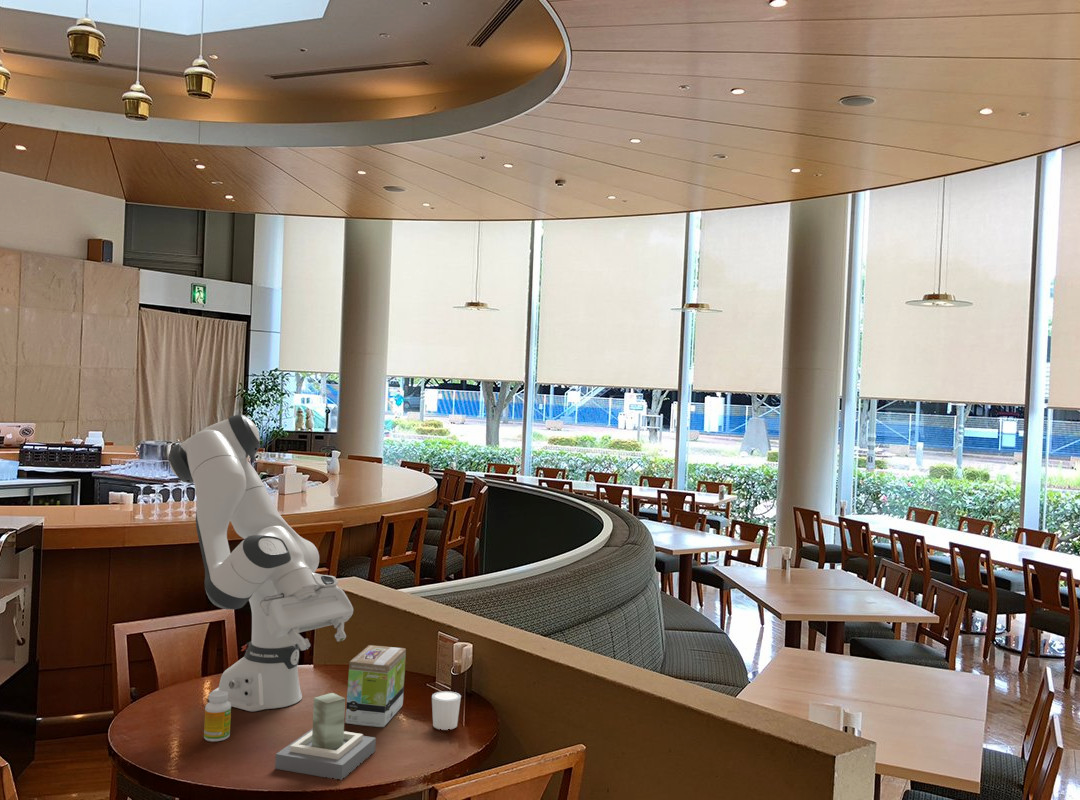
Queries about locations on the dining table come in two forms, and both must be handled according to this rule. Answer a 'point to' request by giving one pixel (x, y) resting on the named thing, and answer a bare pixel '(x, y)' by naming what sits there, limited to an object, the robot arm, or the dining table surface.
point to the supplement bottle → (217, 717)
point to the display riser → (325, 756)
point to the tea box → (375, 685)
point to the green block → (328, 721)
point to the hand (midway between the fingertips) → (324, 643)
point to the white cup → (445, 709)
